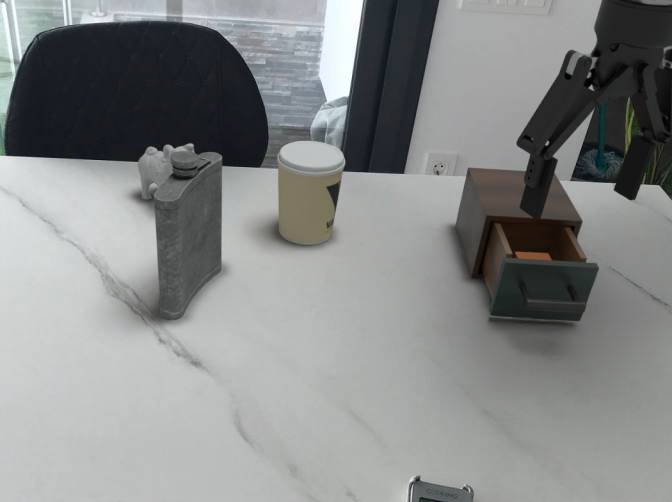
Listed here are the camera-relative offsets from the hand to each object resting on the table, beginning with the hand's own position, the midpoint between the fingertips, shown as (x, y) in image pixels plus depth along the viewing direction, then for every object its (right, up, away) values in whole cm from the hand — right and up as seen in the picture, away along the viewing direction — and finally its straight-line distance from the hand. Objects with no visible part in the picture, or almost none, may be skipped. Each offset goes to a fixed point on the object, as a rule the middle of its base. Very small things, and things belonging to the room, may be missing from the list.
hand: (578, 204), depth 86 cm
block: (-1, -8, +15) cm, 17 cm away
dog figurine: (-49, +7, +32) cm, 59 cm away
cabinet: (-1, -1, +26) cm, 26 cm away
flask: (-45, -8, +14) cm, 48 cm away
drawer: (-1, -9, +15) cm, 18 cm away
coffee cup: (-30, +2, +28) cm, 41 cm away
